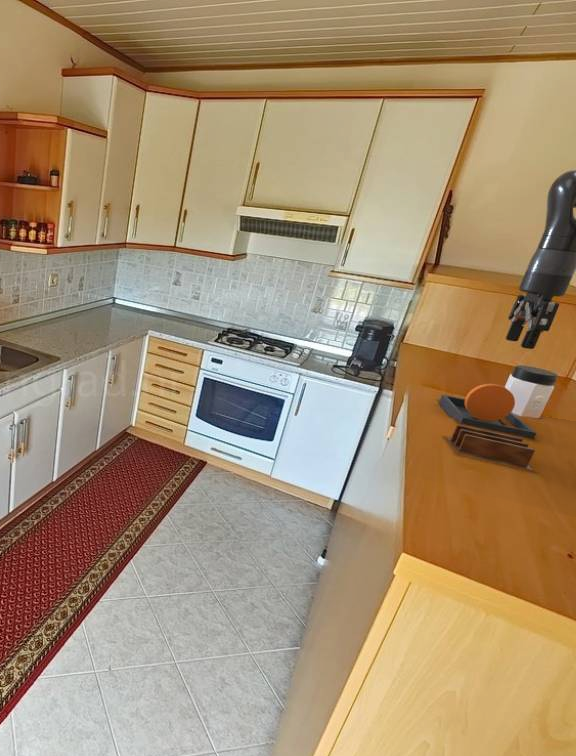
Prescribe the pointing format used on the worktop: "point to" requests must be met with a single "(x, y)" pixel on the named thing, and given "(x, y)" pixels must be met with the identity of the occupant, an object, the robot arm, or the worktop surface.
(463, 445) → the rack
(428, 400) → the worktop surface
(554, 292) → the robot arm
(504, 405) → the disc
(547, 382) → the jar
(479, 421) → the tray
